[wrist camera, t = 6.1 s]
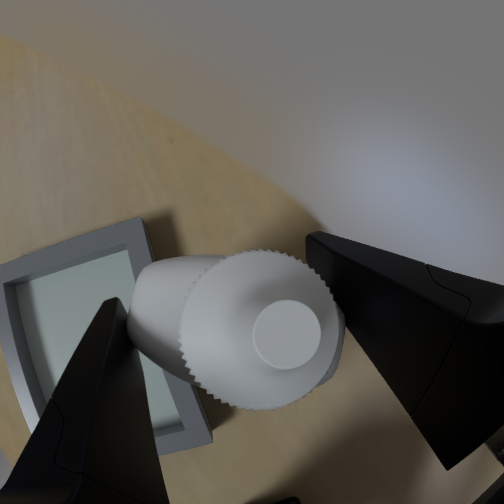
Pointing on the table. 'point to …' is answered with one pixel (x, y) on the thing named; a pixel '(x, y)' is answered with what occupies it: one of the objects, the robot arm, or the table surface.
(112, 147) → the table surface
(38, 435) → the robot arm
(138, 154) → the table surface
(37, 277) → the gray rectangular tray
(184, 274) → the eye dropper bottle
